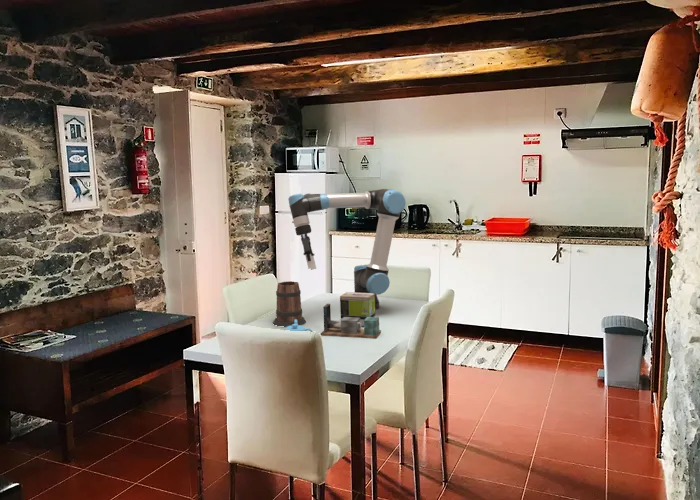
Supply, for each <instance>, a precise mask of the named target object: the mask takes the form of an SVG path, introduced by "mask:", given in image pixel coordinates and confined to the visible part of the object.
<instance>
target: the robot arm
mask: <svg viewBox="0 0 700 500" xmlns="http://www.w3.org/2000/svg"><path fill="white" fill-rule="evenodd" d="M288 204H289V206H288V207H289V209H290V213H291V216H292V222H291V223H292V224H293V226H294V227H295V228H294V230H295V235H296V236H300V240H301V243H302V246H303V256H305V261H306V264H307V269H308V270H309V269H310V270H316V269H317V265H316V262H315V258H314V256H315V253H314V252H313V249H312V244H311V238H310V236H308V234H311V233H312V228H311V225H310V222H311V221H310V219H309V214H308V213H312V212H317V211H318V212H319V211H325V210H328V209H340V208H341V209H344V208H345V209H346V208H347V209H348V208H349V209H350V208H365V209H366V210H377V212H376V214H377V216H378V220H377V221H378V222H377V225H376V231H375V236H374V242H373V247H372V252H371V257H370V262H369V263H368V264H363V265H362V264H360V265H356V266H354V267H353V269H354V270H353V279H354V280H353V281H354V282H353V283H354V284H353V285H354V292H356V293H375V310H377V309H379V308H380V301H379V297H378V295H382V294H384V293H385V292H386V291H388V289H389V287H390V283H391V282H390V281H391V280H390V279H389V276H388V274H389V268H388V267H387V266H388V260H389V254H390V249H391V245H392V240H393V235H394V229H395V224H396V221H397V220H398V219H399V218H400V215H401V212H402V211H403V210H404V209H405V207H406V198H405V195H403V193H402V192H401V191H399V190H396V189H388V188H380V189H375V190H374V189H373V190H365V191H364V192H352V193H351V192H345V193H342V192H339V193H304V194H303V193H296V194H292V195H290V196H289V197H288Z"/></svg>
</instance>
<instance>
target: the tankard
mask: <svg viewBox="0 0 700 500" xmlns="http://www.w3.org/2000/svg"><path fill="white" fill-rule="evenodd" d="M301 293H302V292H301V289H300V284H299V282H298V281H282V282H278V283H277V288H276V291H275V294H276V310H275V315H276V317H275V319H273V320H274V321H273V322H272V323H273V324H274V325H273V324H272V325H273V326H275V325H277V326H276V327H278V326H284V327H283V328H286V327H287V326H292V324H294V320H295V319H297V323H298V325H302V326H304V325H305V324H307V320H306V319H305V317H304V316H303V308H302V302H301V301H302V300H301V298H302V297H301Z"/></svg>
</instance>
